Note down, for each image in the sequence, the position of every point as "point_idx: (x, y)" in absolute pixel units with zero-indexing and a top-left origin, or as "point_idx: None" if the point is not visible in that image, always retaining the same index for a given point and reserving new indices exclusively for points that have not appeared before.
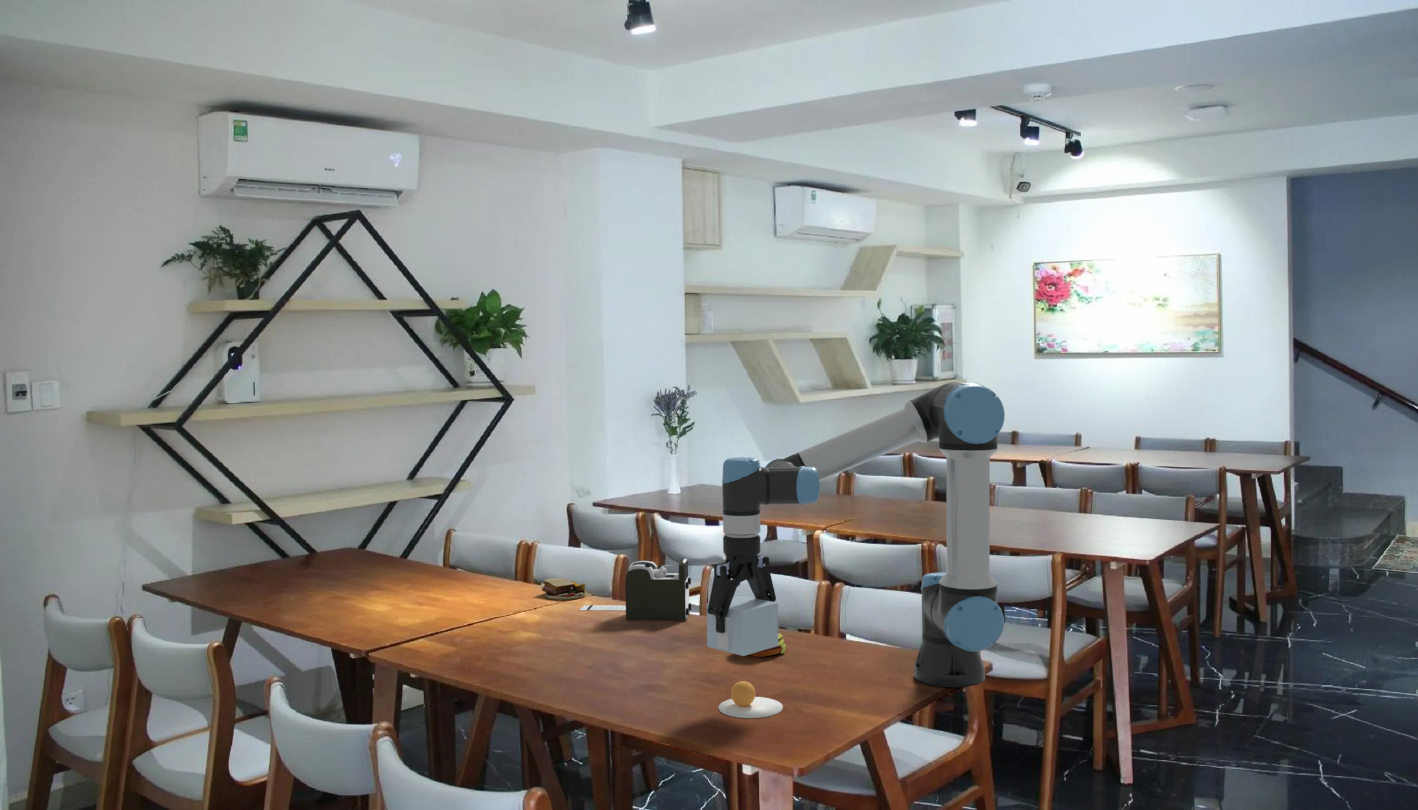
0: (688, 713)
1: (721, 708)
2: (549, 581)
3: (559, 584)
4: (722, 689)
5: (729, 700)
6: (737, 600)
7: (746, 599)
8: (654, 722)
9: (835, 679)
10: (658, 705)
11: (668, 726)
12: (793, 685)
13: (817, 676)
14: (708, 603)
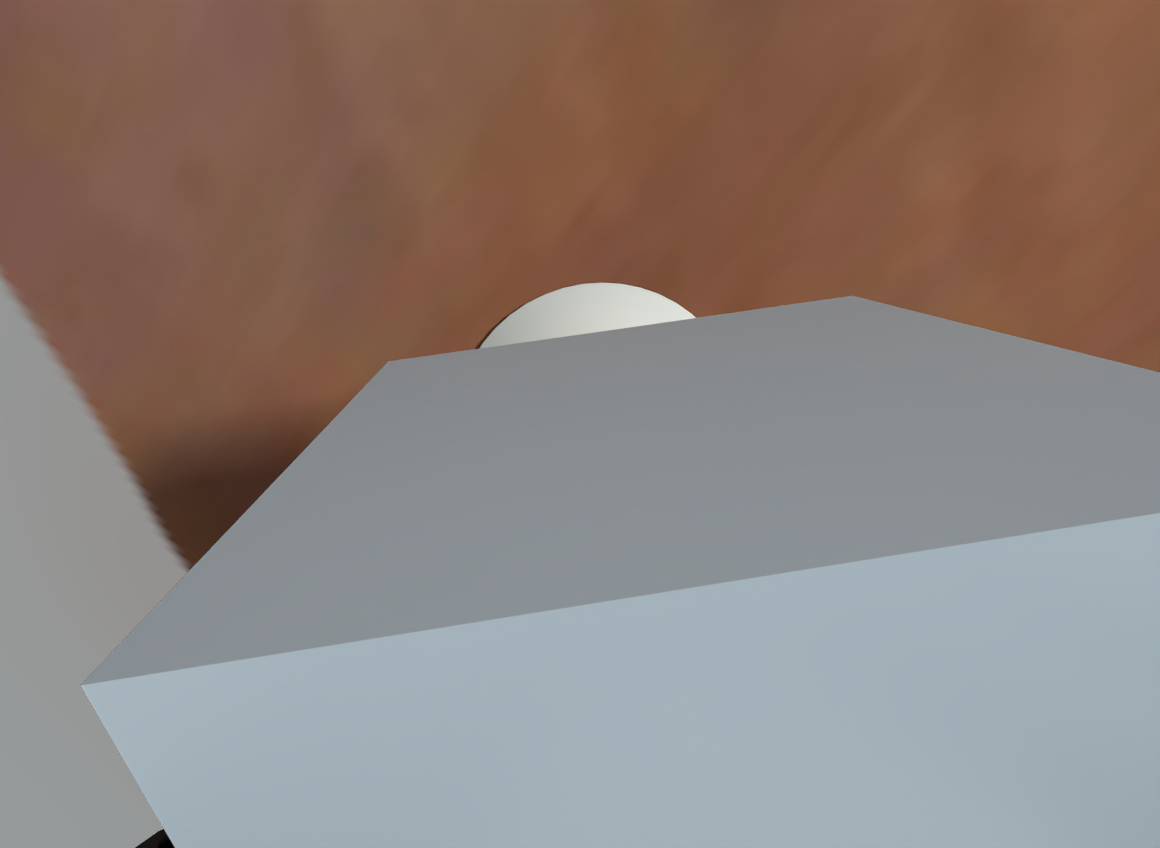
0: (321, 315)
1: None
2: None
3: None
4: (681, 103)
5: (582, 297)
6: (949, 790)
7: (1136, 810)
8: (111, 318)
9: (1136, 355)
10: (236, 94)
11: (155, 404)
12: (959, 301)
13: (1139, 266)
14: (157, 682)
